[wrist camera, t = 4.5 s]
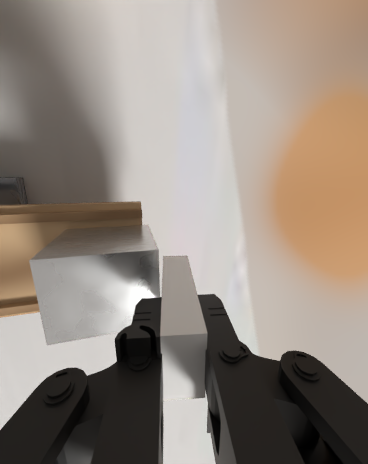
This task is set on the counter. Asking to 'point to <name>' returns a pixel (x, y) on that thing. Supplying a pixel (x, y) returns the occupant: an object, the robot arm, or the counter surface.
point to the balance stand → (12, 191)
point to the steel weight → (94, 280)
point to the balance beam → (45, 241)
